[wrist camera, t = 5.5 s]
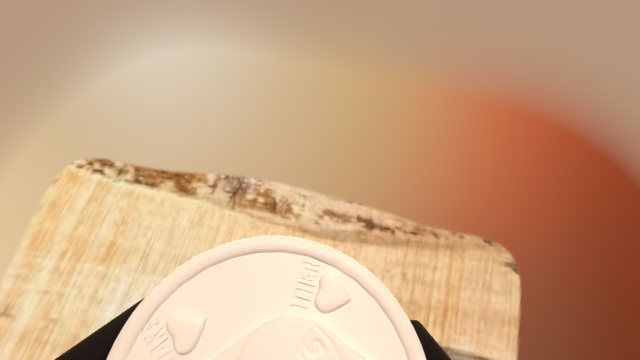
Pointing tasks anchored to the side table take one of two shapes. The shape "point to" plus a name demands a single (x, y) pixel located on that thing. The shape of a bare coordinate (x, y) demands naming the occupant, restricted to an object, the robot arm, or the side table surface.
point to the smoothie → (269, 308)
